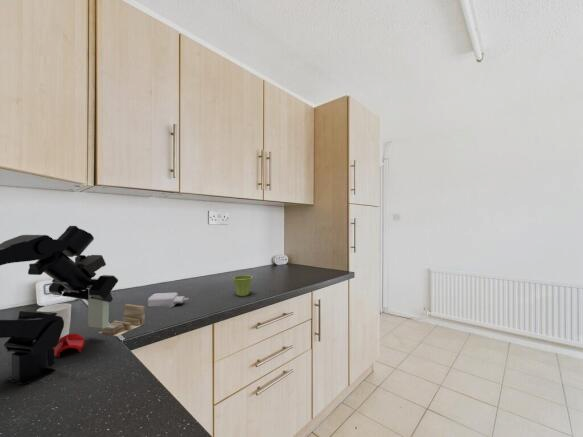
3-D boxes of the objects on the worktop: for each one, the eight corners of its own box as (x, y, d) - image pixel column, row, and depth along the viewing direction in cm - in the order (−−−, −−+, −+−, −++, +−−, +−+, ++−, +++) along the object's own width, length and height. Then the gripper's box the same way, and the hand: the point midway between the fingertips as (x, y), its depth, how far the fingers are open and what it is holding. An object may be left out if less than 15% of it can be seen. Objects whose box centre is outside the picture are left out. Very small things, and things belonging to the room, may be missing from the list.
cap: (89, 344, 71) (89, 326, 75) (61, 344, 67) (63, 325, 71) (75, 365, 72) (76, 346, 76) (47, 366, 68) (50, 347, 72)
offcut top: (113, 331, 81) (113, 327, 81) (103, 329, 83) (103, 326, 83) (123, 326, 85) (123, 323, 85) (113, 325, 86) (113, 322, 86)
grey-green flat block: (102, 328, 77) (102, 280, 77) (88, 325, 78) (88, 279, 79) (108, 326, 78) (108, 279, 78) (94, 323, 80) (94, 277, 80)
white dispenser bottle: (185, 308, 111) (147, 310, 108) (190, 301, 120) (155, 303, 117) (185, 296, 111) (147, 298, 108) (190, 291, 120) (155, 292, 118)
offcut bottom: (113, 335, 81) (113, 331, 81) (101, 333, 83) (101, 329, 83) (125, 330, 85) (125, 326, 85) (113, 328, 86) (113, 324, 86)
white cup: (34, 348, 75) (34, 313, 75) (39, 338, 82) (39, 306, 82) (69, 341, 80) (70, 308, 80) (72, 332, 86) (72, 301, 86)
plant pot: (254, 296, 127) (254, 278, 127) (234, 298, 124) (234, 279, 124) (250, 291, 136) (250, 274, 136) (231, 293, 132) (231, 276, 132)
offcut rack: (116, 340, 80) (116, 316, 81) (97, 336, 83) (97, 313, 83) (144, 327, 90) (144, 306, 90) (127, 324, 93) (127, 304, 93)
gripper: (112, 247, 73) (143, 278, 83) (60, 246, 77) (96, 276, 88) (83, 282, 65) (121, 311, 75) (27, 278, 69) (71, 307, 80)
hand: (102, 299), depth 80 cm, fingers closed on grey-green flat block, 6 cm apart
